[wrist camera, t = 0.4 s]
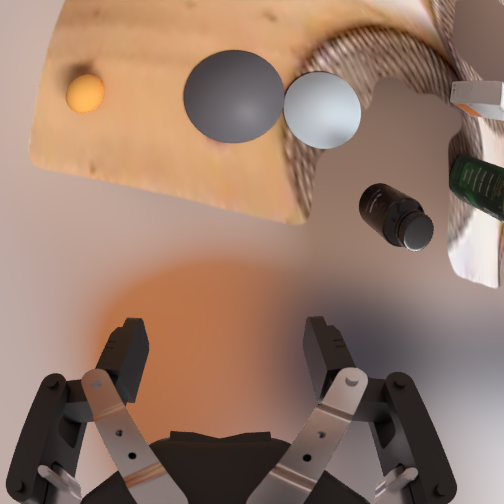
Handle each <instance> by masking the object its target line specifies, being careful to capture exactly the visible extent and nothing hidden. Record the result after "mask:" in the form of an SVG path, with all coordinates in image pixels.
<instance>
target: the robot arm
mask: <svg viewBox="0 0 504 504" xmlns="http://www.w3.org/2000/svg"><path fill="white" fill-rule="evenodd" d="M303 350H304V355H305V358H306V362H307V365H308V369H309V373H310V376H311V380H312V384H313V387H314V391H315V395H316V398H317V401H318V403H320V402H321V404H318V405H317V407H316V408H315V410H314V411H313V413H312V415H311V416H310V417H309V419H308V421H307V422H306V424H305V425H304V427H303V428H302V430H301V431H300V433H299V434H298V436H297V437H296V439H295V440H294V441H293V443H292V444H290V443H288V442H285V441H283V440H279V439H275V438H271V434H270V432H256V433H243V434H239V435H235V436H231V437H226V438H220V439H219V438H214V437H210V436H206V435H202V434H198V433H193V432H177V431H171V432H170V437H169V438H164V439H161V440H158V441H155V442H153V443H151V444H150V445H148V444H147V442H146V441H145V439H144V438H143V436H142V434H141V433H140V431H139V430H138V428H137V426H136V425H135V423H134V421H133V420H132V418H131V416H130V414H129V413H128V411H127V409H126V404H127V402H130V403H135V399H136V396H137V392H138V388H139V385H140V381H141V378H142V374H143V370H144V367H145V363H146V360H147V356H148V353H149V341H148V337H147V334H146V330H145V326H144V322H143V320H142V318H127V319H126V320H125V323H124V325H123V327H118V328H116V329H115V330H114V331H113V332H112V333H111V335H110V337H109V339H108V342H107V343H106V345H105V348H104V350H103V352H102V354H101V356H100V359H99V361H98V363H97V366H96V368H95V369H92V370H90V371H88V372H86V373H85V374H84V376H83V377H82V379H80V380H71V381H66V379H65V378H64V377H63V376H62V375H61V374H58V373H54V374H50V375H48V376H47V377H45V378H44V379H43V381H42V383H41V385H40V387H39V390H38V392H37V394H36V396H35V399H34V401H33V403H32V406H31V408H30V411H29V413H28V416H27V418H26V421H25V424H24V426H23V429H22V431H21V434H20V437H19V440H18V443H17V446H16V449H15V452H14V455H13V458H12V461H11V465H10V468H9V472H8V475H7V479H6V488H7V492H8V494H9V495H10V496H11V497H12V498H13V499H14V500H16V501H17V502H19V503H21V504H370V503H369V502H368V501H367V500H366V499H365V498H364V497H362V496H361V495H359V494H358V493H356V492H355V491H353V490H352V489H350V488H349V487H348V486H346V485H345V484H343V483H342V482H341V481H339V480H338V479H337V478H335V477H334V476H332V475H331V474H330V473H328V472H327V471H326V470H325V468H326V466H327V465H328V463H329V461H330V460H331V458H332V456H333V454H334V452H335V451H336V449H337V447H338V445H339V443H340V441H341V439H342V437H343V436H344V434H345V432H346V429H347V428H348V426H349V424H350V421H351V420H353V421H365V422H369V426H370V429H371V432H372V436H373V439H374V443H375V446H376V450H377V453H378V457H379V460H380V464H381V468H382V472H383V476H384V478H383V479H382V480H380V482H379V483H378V484H377V486H376V490H375V492H376V493H375V494H376V496H375V500H374V502H373V504H448V503H449V502H451V500H452V499H453V498H454V497H455V495H456V491H457V484H456V481H455V478H454V475H453V473H452V470H451V467H450V465H449V462H448V459H447V457H446V454H445V452H444V449H443V447H442V444H441V442H440V439H439V437H438V435H437V432H436V430H435V427H434V425H433V423H432V421H431V418H430V416H429V414H428V412H427V409H426V407H425V405H424V403H423V401H422V399H421V396H420V394H419V392H418V390H417V388H416V386H415V384H414V382H413V380H412V378H411V377H410V376H408V375H406V374H405V373H402V372H394V373H391V374H389V375H388V376H387V378H386V380H384V379H373V378H369V377H367V376H366V374H365V373H364V372H363V371H361V370H360V369H357V368H356V366H355V364H354V362H353V360H352V357H351V355H350V353H349V350H348V348H347V347H346V344H345V342H344V341H343V337H342V335H341V333H340V331H339V330H338V329H336V328H335V327H334V326H333V325H332V326H327V325H326V322H325V320H324V318H323V316H316V317H315V316H314V317H307V319H306V325H305V331H304V338H303ZM93 421H94V422H95V424H96V427H97V429H98V431H99V433H100V435H101V437H102V439H103V442H104V444H105V446H106V448H107V450H108V452H109V454H110V455H111V457H112V459H113V461H114V463H115V465H116V467H117V469H118V471H117V472H115V473H114V474H113V475H112V476H110V477H109V478H108V479H106V480H105V481H104V482H103V483H101V484H100V485H99V486H97V487H96V488H95V489H93V490H92V491H91V492H89V493H88V494H87V495H86V496H85V497H84V498H83V499H82V497H81V488H80V484H79V483H78V481H77V480H76V479H75V473H76V467H77V463H78V459H79V454H80V450H81V445H82V441H83V437H84V433H85V429H86V425H87V422H93Z"/></svg>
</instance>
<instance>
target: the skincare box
mask: <svg viewBox="0 0 504 504" xmlns="http://www.w3.org/2000/svg"><path fill="white" fill-rule="evenodd" d="M450 102H451V103H453V104H454V105H456V106H457V107H459V108H460V109H462V110H463V111H465V112H466V113H467V114H469V115H470V116H476V117H483V118H490V119H497V120H503V121H504V83H503V82H502V81H453V83H452V90H451V96H450Z"/></svg>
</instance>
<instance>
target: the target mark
mask: <svg viewBox="0 0 504 504" xmlns="http://www.w3.org/2000/svg"><path fill="white" fill-rule="evenodd" d="M184 103H185V108H186V112H187V114H188V117H189V118H190V120H191V122H192V123H193V124H194V126H195V127H196V128H197V129H198V130H199V131H200V132H202V133H203V134H204V135H206V136H208V137H209V138H212V139H214V140H217V141H220V142H225V143H242V142H247V141H250V140H253V139H255V138H257V137H260V136H261V135H263V134H264V133H266V132H267V131H268V130H269V129H270V128H271V127H272V126H273V125H274V124H275V123H276V121H277V120H278V118H279V116H280V114H281V112H282V109H283V105H284V88H283V84H282V81H281V78H280V76H279V75H278V73H277V71H276V70H275V69H274V68H273V67H272V65H271V64H270V63H268V62H267V61H266V60H264V59H263V58H261V57H259V56H257V55H255V54H252V53H249V52H244V51H226V52H221V53H218V54H215V55H213V56H211V57H209V58H207V59H206V60H204V61H203V62H201V63H200V64H199V65H198V66H197V67H196V68H195V69H194V71H193V72H192V74H191V75H190V77H189V79H188V81H187V84H186V87H185V92H184Z"/></svg>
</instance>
